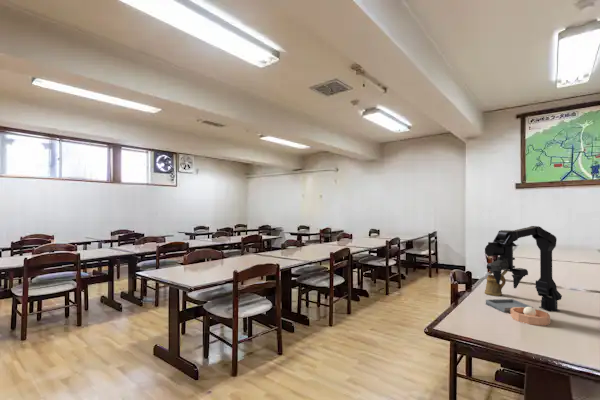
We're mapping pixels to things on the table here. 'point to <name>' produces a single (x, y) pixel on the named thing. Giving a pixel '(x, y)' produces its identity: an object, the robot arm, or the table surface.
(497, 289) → the wooden mug
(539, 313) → the bowl
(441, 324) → the table surface
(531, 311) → the ball
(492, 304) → the tray
